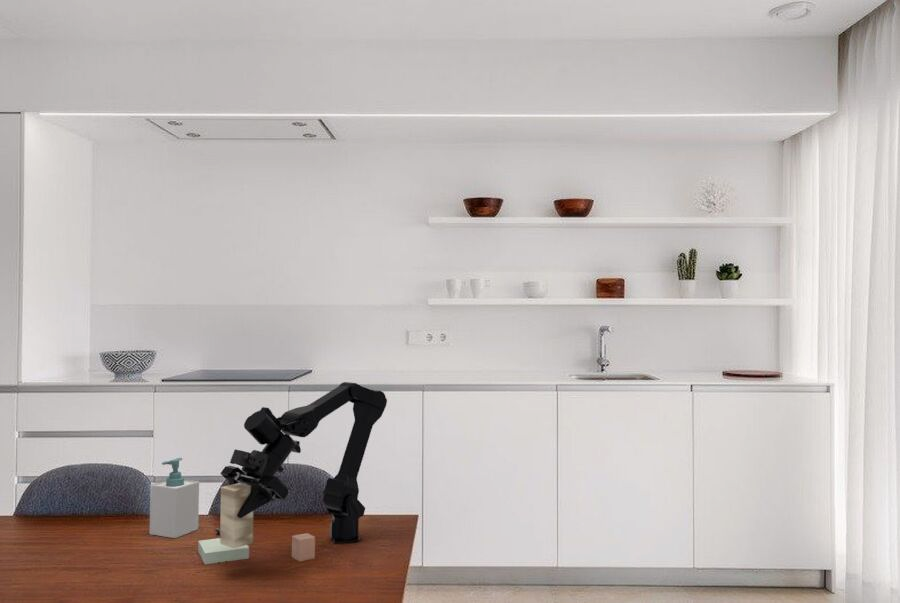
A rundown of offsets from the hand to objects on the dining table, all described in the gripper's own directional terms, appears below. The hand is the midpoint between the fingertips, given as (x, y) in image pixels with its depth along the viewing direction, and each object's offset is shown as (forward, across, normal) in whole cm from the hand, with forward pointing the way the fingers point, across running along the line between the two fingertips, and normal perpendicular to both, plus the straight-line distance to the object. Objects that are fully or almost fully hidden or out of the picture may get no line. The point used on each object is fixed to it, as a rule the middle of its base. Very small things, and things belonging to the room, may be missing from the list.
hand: (231, 514), depth 161 cm
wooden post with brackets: (-3, -28, +23) cm, 36 cm away
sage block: (+5, -13, +15) cm, 20 cm away
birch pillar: (+4, 0, +6) cm, 7 cm away
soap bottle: (+3, -38, +16) cm, 41 cm away
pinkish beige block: (-3, +3, +22) cm, 23 cm away
